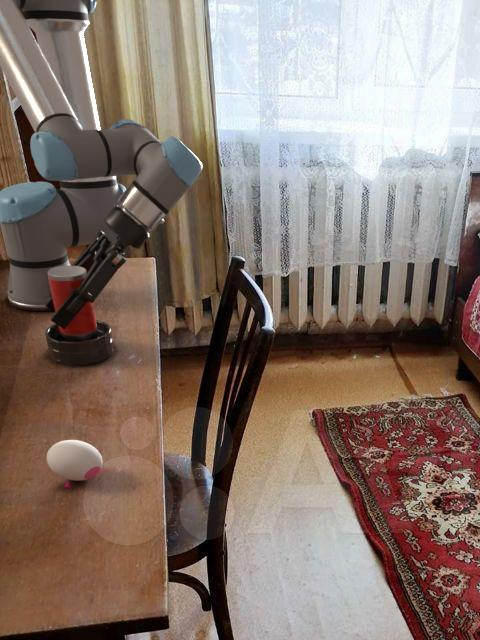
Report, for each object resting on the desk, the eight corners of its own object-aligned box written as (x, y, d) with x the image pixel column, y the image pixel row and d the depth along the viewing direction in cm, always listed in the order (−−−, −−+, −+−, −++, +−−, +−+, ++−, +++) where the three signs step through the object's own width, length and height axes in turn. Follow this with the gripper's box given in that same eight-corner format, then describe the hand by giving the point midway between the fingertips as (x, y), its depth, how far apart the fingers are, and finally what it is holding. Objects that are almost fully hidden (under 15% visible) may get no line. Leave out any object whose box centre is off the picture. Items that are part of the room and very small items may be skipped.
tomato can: (71, 323, 127) (59, 263, 120) (103, 327, 126) (93, 267, 119) (52, 336, 121) (39, 274, 115) (86, 341, 121) (75, 278, 114)
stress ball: (111, 492, 97) (120, 447, 97) (83, 493, 89) (93, 444, 89) (63, 481, 98) (72, 437, 97) (31, 481, 90) (41, 433, 89)
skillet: (69, 337, 131) (65, 315, 129) (124, 344, 130) (120, 323, 128) (37, 361, 122) (32, 338, 119) (96, 369, 121) (91, 346, 118)
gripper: (164, 248, 113) (81, 349, 116) (138, 219, 127) (65, 310, 130) (128, 217, 108) (42, 324, 111) (105, 191, 122) (29, 286, 125)
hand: (54, 316), depth 120 cm, fingers closed on tomato can, 7 cm apart
